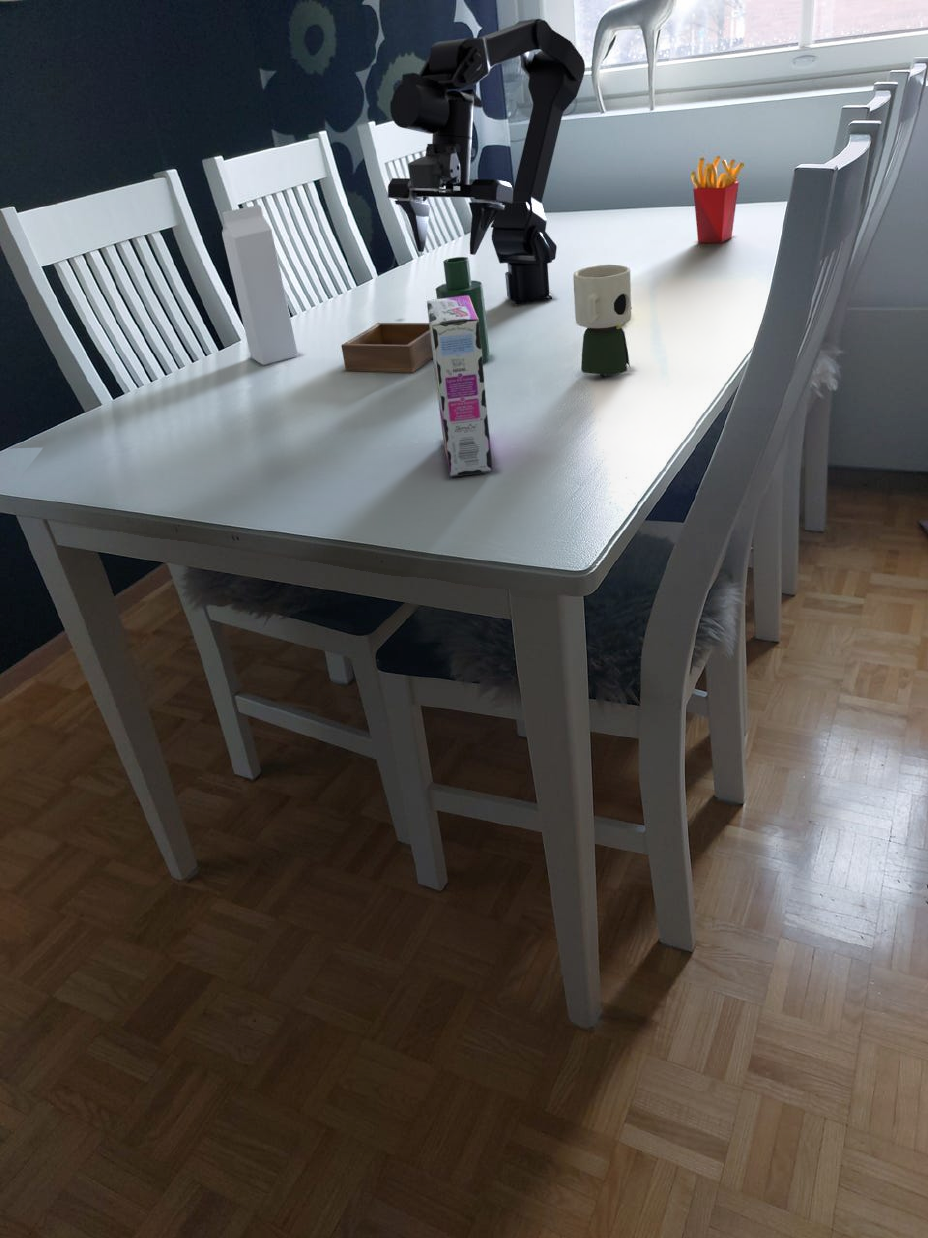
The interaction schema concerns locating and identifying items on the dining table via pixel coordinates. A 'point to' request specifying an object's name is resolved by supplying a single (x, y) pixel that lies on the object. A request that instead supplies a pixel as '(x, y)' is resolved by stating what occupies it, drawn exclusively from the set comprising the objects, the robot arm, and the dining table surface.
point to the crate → (389, 348)
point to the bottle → (465, 294)
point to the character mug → (603, 317)
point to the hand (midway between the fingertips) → (446, 253)
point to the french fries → (715, 200)
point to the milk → (258, 285)
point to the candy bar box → (460, 384)
